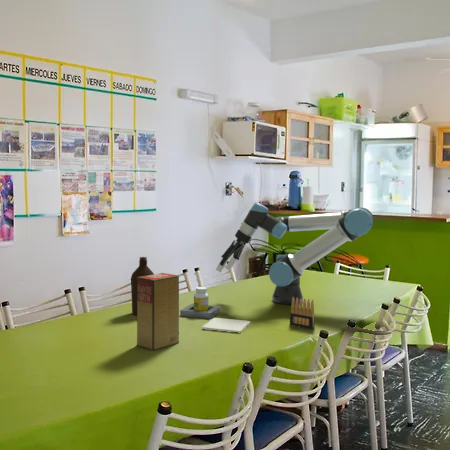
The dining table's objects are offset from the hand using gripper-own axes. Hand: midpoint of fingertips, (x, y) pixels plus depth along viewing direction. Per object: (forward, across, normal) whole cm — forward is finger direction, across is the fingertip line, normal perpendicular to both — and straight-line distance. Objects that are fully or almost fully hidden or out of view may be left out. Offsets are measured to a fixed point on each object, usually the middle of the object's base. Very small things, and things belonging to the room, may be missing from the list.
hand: (222, 270), depth 271 cm
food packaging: (+20, +71, +12) cm, 74 cm away
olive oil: (+29, +32, -12) cm, 45 cm away
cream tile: (+9, +38, +24) cm, 46 cm away
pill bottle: (+17, +23, +8) cm, 29 cm away
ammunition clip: (-6, +26, +48) cm, 55 cm away
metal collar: (+16, +23, +8) cm, 29 cm away
